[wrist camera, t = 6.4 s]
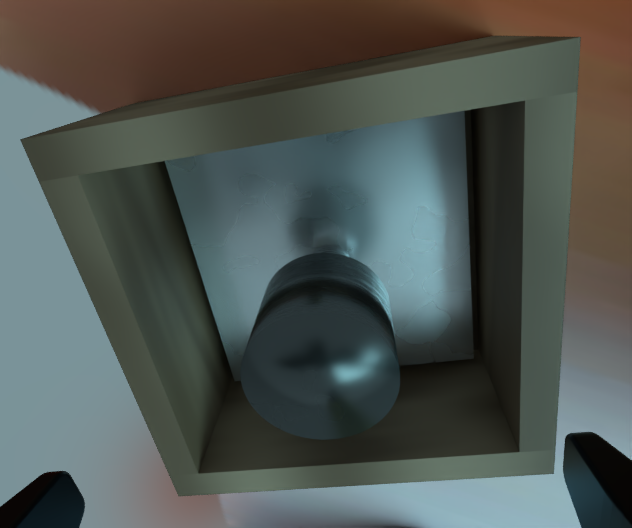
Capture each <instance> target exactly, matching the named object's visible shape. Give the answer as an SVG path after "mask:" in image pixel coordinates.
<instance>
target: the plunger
mask: <svg viewBox="0 0 632 528" xmlns="http://www.w3.org/2000/svg"><path fill="white" fill-rule="evenodd" d="M165 164H166V167H167V170H168V174H169V177H170V180H171V183H172V186H173V189H174V192H175V195H176V199H177V202H178V205H179V208H180V211H181V214H182V217H183V221H184V224H185V227H186V230H187V233H188V236H189V239H190V243H191V246H192V249H193V252H194V255H195V258H196V261H197V265H198V268H199V271H200V274H201V277H202V280H203V283H204V287H205V290H206V293H207V296H208V299H209V302H210V305H211V309H212V312H213V315H214V318H215V321H216V324H217V327H218V330H219V334H220V337H221V340H222V343H223V346H224V349H225V352H226V356H227V359H228V362H229V365H230V368H231V371H232V374H233V378H234V381H241V384H242V388H243V391H244V393H245V396H246V398H247V399H248V401H249V403H250V404H251V406H252V407H253V408H254V409H255V411H256V412H257V413H258V414H259V415H260V416H261V417H262V418H264V419H265V420H266V421H267V422H269V423H270V424H272V425H273V426H275V427H277V428H279V429H281V430H283V431H285V432H287V433H290V434H293V435H296V436H300V437H304V438H310V439H320V440H329V439H340V438H345V437H349V436H353V435H356V434H359V433H361V432H363V431H365V430H367V429H369V428H371V427H372V426H374V425H376V424H377V423H378V422H379V421H380V420H382V419H383V418H384V417H385V416H386V415H387V414H388V412H389V411H390V410H391V408H392V407H393V405H394V403H395V401H396V399H397V396H398V393H399V388H400V371H399V366H402V365H413V364H423V363H434V362H444V361H455V360H466V359H474V350H473V324H472V297H471V271H470V245H469V218H468V192H467V165H466V139H465V112H464V111H459V112H453V113H447V114H441V115H435V116H429V117H423V118H417V119H411V120H406V121H400V122H394V123H388V124H382V125H376V126H370V127H364V128H358V129H352V130H346V131H340V132H334V133H328V134H322V135H316V136H310V137H304V138H298V139H292V140H286V141H280V142H274V143H268V144H262V145H256V146H250V147H244V148H238V149H232V150H227V151H221V152H215V153H209V154H203V155H197V156H191V157H185V158H179V159H173V160H167V161H165Z"/></svg>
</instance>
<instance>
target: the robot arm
mask: <svg viewBox="0 0 632 528" xmlns="http://www.w3.org/2000/svg"><path fill="white" fill-rule="evenodd" d="M563 473H564V478H565V482H566V485H567V488H568V491H569V494H570V496H571V499H572V502H573V505H574V508H575V510H576V513H577V516H578V519H579V522H580V525H581V527H582V528H632V460H630V459H629V458H628V457H626V456H625V455H624V454H622V453H621V452H620V451H619V450H617V449H616V448H615V447H613V446H612V445H611V444H609V443H608V442H607V441H605V440H604V439H603V438H601V437H600V436H599V435H597V434H595V433H593V432H581V433H570V434H568V435H567V436H566V438H565V448H564V461H563ZM84 508H85V502H84V498H83V496H82V494H81V493H80V491H79V489H78V487H77V486H76V484H75V483H74V480H73V479H72V477H71V475H70V474H69V473H68V472H66V471H56V472H47V473H44V474H42V475H40V476H39V477H38V478H36V479H35V480H34V481H33V482H31V483H30V484H29V485H28V486H26V487H25V488H24V489H23V490H21V491H20V492H19V493H17V494H16V495H15V496H14V497H12V498H11V499H10V500H9V501H7V502H6V503H5V504H3V505H2V506H1V507H0V528H79V526H80V523H81V520H82V517H83V513H84Z"/></svg>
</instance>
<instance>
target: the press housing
mask: <svg viewBox="0 0 632 528" xmlns="http://www.w3.org/2000/svg"><path fill="white" fill-rule="evenodd" d="M580 38H581V37H541V36H491V37H486V38H480V39H475V40H470V41H464V42H459V43H454V44H448V45H443V46H438V47H432V48H427V49H422V50H416V51H411V52H406V53H400V54H395V55H390V56H384V57H379V58H374V59H368V60H363V61H358V62H353V63H347V64H342V65H337V66H331V67H326V68H321V69H315V70H310V71H305V72H299V73H294V74H289V75H283V76H278V77H273V78H267V79H262V80H257V81H251V82H246V83H241V84H235V85H230V86H225V87H219V88H214V89H209V90H203V91H198V92H193V93H187V94H182V95H177V96H171V97H166V98H161V99H155V100H150V101H145V102H139V103H134V104H130V105H127V106H124V107H121V108H118V109H114V110H111V111H108V112H105V113H102V114H99V115H96V116H93V117H90V118H86V119H83V120H80V121H77V122H74V123H71V124H67V125H64V126H61V127H59V128H55V129H52V130H49V131H46V132H42V133H39V134H37V135H33V136H30V137H27V138H24V139H21V142H22V144H23V147H24V149H25V151H26V153H27V156H28V158H29V160H30V162H31V165H32V167H33V169H34V172H35V174H36V176H37V178H38V181H39V183H40V185H41V187H42V189H43V192H44V194H45V196H46V199H47V201H48V203H49V205H50V208H51V209H52V212H53V214H54V217H55V219H56V221H57V223H58V225H59V228H60V230H61V232H62V235H63V237H64V239H65V241H66V243H67V246H68V248H69V250H70V253H71V255H72V257H73V259H74V261H75V264H76V266H77V268H78V270H79V273H80V275H81V277H82V280H83V282H84V284H85V286H86V289H87V291H88V293H89V295H90V297H91V300H92V302H93V304H94V307H95V309H96V311H97V313H98V316H99V318H100V320H101V322H102V325H103V327H104V329H105V331H106V334H107V336H108V338H109V340H110V343H111V345H112V347H113V349H114V352H115V354H116V356H117V359H118V361H119V363H120V365H121V368H122V370H123V372H124V374H125V376H126V379H127V381H128V383H129V386H130V388H131V390H132V392H133V394H134V397H135V399H136V401H137V404H138V406H139V408H140V410H141V412H142V415H143V417H144V419H145V421H146V424H147V426H148V428H149V431H150V433H151V435H152V437H153V440H154V442H155V444H156V446H157V449H158V451H159V453H160V455H161V458H162V460H163V462H164V464H165V467H166V469H167V471H168V473H169V476H170V478H171V480H172V482H173V485H174V487H175V489H176V491H177V494H178V496H192V495H208V494H225V493H241V492H258V491H275V490H291V489H308V488H324V487H341V486H358V485H374V484H391V483H408V482H424V481H441V480H457V479H474V478H491V477H507V476H524V475H540V474H554V462H555V446H556V429H557V413H558V397H559V380H560V364H561V348H562V332H563V315H564V299H565V283H566V266H567V250H568V234H569V217H570V201H571V185H572V169H573V152H574V136H575V120H576V103H577V87H578V71H579V54H580ZM459 111H464V112H465V139H466V165H467V192H468V218H469V245H470V271H471V297H472V324H473V350H474V359H466V360H455V361H444V362H434V363H423V364H413V365H402V366H399V371H400V388H399V393H398V396H397V399H396V401H395V403H394V405H393V407H392V408H391V410H390V411H389V412H388V414H387V415H386V416H385V417H384V418H383V419H382V420H380V421H379V422H378V423H377V424H376V425H374V426H372V427H371V428H369V429H367V430H365V431H363V432H361V433H359V434H356V435H353V436H349V437H345V438H340V439H329V440H320V439H310V438H304V437H300V436H296V435H293V434H290V433H287V432H285V431H283V430H281V429H279V428H277V427H275V426H273V425H272V424H270V423H269V422H267V421H266V420H265V419H264V418H262V417H261V416H260V415H259V414H258V413H257V412H256V411H255V409H254V408H253V407H252V406H251V404H250V403H249V401H248V399H247V398H246V396H245V393H244V391H243V388H242V384H241V381H234V378H233V374H232V371H231V368H230V365H229V362H228V359H227V356H226V352H225V349H224V346H223V343H222V340H221V337H220V334H219V330H218V327H217V324H216V321H215V318H214V315H213V312H212V309H211V305H210V302H209V299H208V296H207V293H206V290H205V287H204V283H203V280H202V277H201V274H200V271H199V268H198V265H197V261H196V258H195V255H194V252H193V249H192V246H191V243H190V239H189V236H188V233H187V230H186V227H185V224H184V221H183V217H182V214H181V211H180V208H179V205H178V202H177V199H176V195H175V192H174V189H173V186H172V183H171V180H170V177H169V174H168V170H167V167H166V164H165V161H167V160H173V159H179V158H185V157H191V156H197V155H203V154H209V153H215V152H221V151H227V150H232V149H238V148H244V147H250V146H256V145H262V144H268V143H274V142H280V141H286V140H292V139H298V138H304V137H310V136H316V135H322V134H328V133H334V132H340V131H346V130H352V129H358V128H364V127H370V126H376V125H382V124H388V123H394V122H400V121H406V120H411V119H417V118H423V117H429V116H435V115H441V114H447V113H453V112H459Z"/></svg>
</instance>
